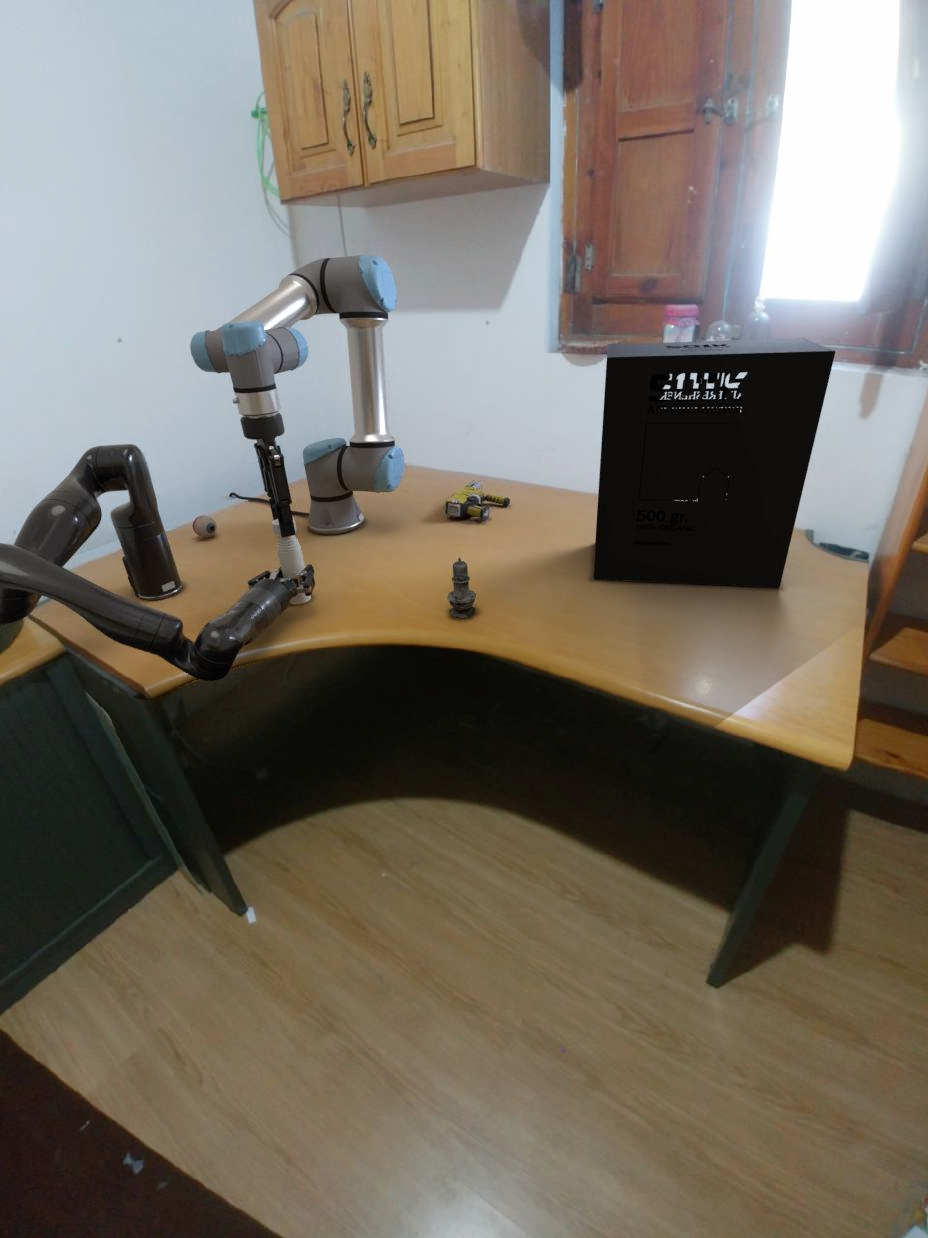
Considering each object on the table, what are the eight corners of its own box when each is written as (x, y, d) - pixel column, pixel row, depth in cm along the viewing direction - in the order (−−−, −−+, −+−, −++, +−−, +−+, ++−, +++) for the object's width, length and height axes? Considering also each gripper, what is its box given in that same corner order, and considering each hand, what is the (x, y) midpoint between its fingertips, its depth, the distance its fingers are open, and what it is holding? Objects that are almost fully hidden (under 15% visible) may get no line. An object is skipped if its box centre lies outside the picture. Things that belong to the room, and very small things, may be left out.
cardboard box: (759, 548, 141) (803, 338, 119) (779, 587, 124) (835, 350, 102) (595, 543, 149) (607, 344, 126) (593, 579, 132) (607, 357, 109)
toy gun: (518, 485, 181) (471, 478, 185) (495, 509, 161) (443, 500, 165) (516, 500, 184) (470, 493, 188) (494, 525, 164) (442, 517, 168)
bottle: (310, 592, 134) (295, 518, 125) (311, 602, 130) (296, 526, 121) (288, 596, 133) (271, 522, 124) (289, 606, 129) (271, 530, 120)
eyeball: (206, 542, 163) (200, 521, 160) (191, 538, 166) (185, 518, 163) (224, 534, 167) (218, 514, 164) (209, 531, 170) (203, 510, 167)
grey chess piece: (474, 619, 120) (471, 564, 114) (445, 617, 121) (441, 563, 115) (479, 605, 124) (477, 551, 118) (451, 603, 126) (448, 550, 120)
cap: (281, 526, 126) (279, 516, 125) (300, 528, 125) (298, 517, 124) (269, 535, 122) (267, 524, 121) (289, 536, 121) (287, 525, 120)
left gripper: (233, 620, 119) (273, 581, 134) (299, 624, 117) (333, 584, 131) (223, 586, 116) (266, 550, 130) (292, 590, 113) (327, 552, 127)
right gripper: (230, 409, 117) (257, 523, 129) (250, 425, 104) (277, 550, 115) (269, 404, 120) (292, 515, 132) (293, 418, 107) (316, 541, 118)
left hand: (299, 567), depth 130 cm, fingers closed on bottle, 4 cm apart
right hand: (285, 531), depth 123 cm, fingers closed on cap, 4 cm apart
